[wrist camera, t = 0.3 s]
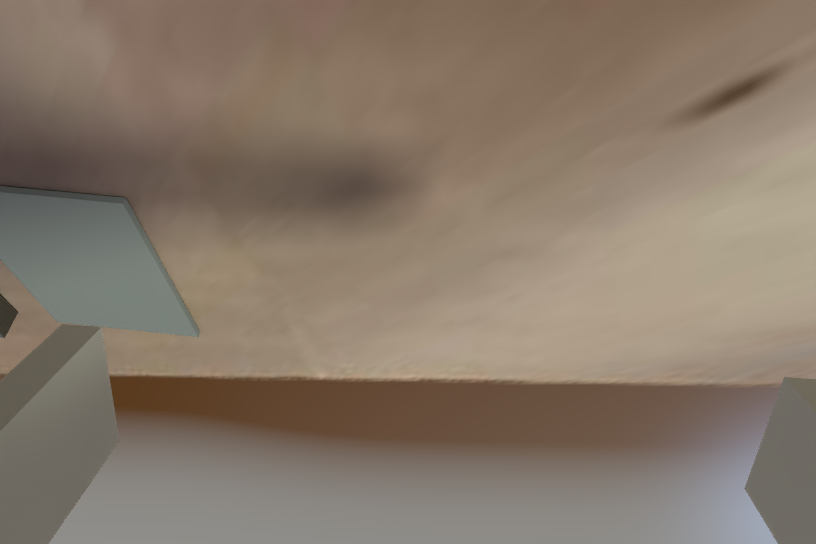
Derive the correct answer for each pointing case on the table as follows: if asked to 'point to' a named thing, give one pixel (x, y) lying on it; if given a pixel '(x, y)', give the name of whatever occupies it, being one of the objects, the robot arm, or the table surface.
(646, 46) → the table surface
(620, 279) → the table surface
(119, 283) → the rubber mat
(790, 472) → the robot arm
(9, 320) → the gray square frame
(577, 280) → the table surface
